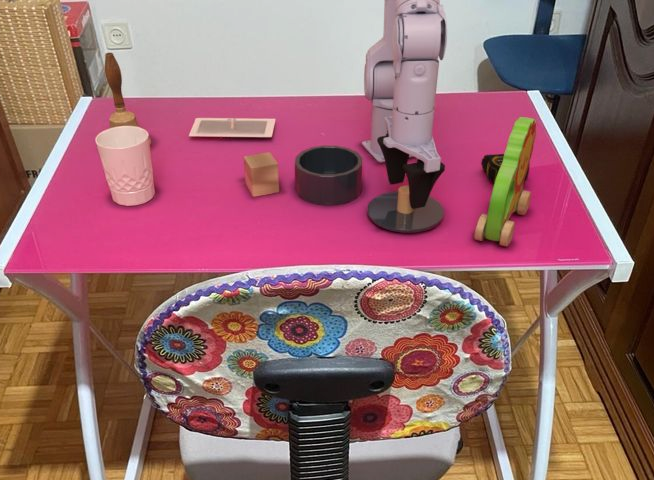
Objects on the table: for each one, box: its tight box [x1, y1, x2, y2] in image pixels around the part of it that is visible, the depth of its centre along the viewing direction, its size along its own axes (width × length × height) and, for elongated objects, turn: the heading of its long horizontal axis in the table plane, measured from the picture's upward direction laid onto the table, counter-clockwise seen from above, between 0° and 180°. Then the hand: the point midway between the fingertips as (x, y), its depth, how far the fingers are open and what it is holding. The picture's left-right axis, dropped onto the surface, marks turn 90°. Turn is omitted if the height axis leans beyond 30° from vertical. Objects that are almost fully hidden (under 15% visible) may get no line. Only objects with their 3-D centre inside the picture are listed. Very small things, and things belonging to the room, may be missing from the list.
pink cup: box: [95, 126, 156, 207], centre depth 112 cm, size 8×8×10 cm
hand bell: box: [104, 52, 152, 146], centre depth 124 cm, size 8×8×16 cm
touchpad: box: [188, 117, 276, 138], centre depth 132 cm, size 8×15×2 cm, turn 88°
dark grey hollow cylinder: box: [294, 145, 363, 206], centre depth 115 cm, size 11×11×5 cm
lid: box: [366, 184, 445, 234], centre depth 109 cm, size 12×12×4 cm
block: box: [243, 151, 280, 198], centre depth 115 cm, size 4×4×5 cm
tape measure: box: [480, 153, 531, 183], centre depth 117 cm, size 7×7×4 cm
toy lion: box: [473, 116, 537, 248], centre depth 104 cm, size 16×5×15 cm, turn 155°
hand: (406, 194), depth 108 cm, fingers open, 7 cm apart
